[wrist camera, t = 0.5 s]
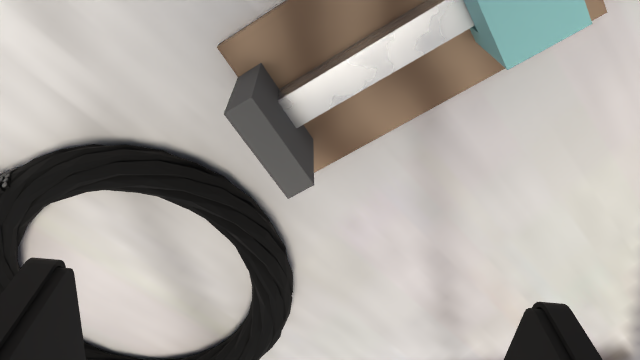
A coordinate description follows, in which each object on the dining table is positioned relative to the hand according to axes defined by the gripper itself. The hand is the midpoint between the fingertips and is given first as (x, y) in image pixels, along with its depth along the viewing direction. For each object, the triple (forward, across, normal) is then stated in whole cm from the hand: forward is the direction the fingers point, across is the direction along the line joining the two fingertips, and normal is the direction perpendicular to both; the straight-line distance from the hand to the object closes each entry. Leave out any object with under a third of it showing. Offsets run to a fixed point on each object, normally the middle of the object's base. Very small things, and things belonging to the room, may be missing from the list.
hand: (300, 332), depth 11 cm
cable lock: (+29, +13, +23) cm, 40 cm away
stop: (+28, +2, +6) cm, 29 cm away
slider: (+27, -12, -5) cm, 30 cm away
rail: (+28, -7, -1) cm, 29 cm away
